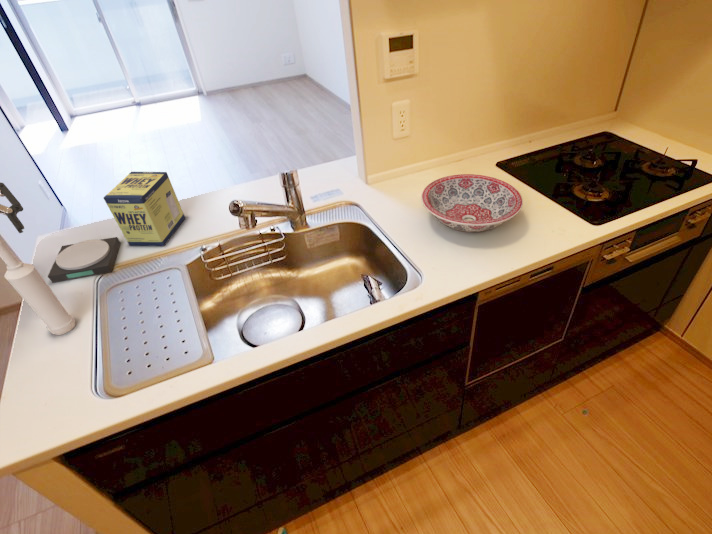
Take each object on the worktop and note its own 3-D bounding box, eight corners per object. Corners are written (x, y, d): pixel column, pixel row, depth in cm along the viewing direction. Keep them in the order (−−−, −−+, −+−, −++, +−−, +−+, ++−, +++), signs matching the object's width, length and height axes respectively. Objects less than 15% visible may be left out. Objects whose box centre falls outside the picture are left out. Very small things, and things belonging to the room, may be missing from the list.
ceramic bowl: (536, 238, 122) (542, 213, 116) (441, 257, 116) (443, 232, 110) (491, 190, 142) (494, 168, 137) (408, 205, 136) (408, 182, 131)
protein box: (128, 246, 121) (101, 197, 111) (153, 217, 133) (131, 170, 122) (164, 246, 121) (141, 197, 110) (186, 217, 132) (167, 170, 122)
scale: (52, 283, 110) (45, 274, 108) (66, 252, 120) (60, 243, 118) (111, 272, 113) (106, 263, 111) (120, 243, 123) (115, 234, 120)
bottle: (81, 320, 100) (14, 229, 83) (66, 336, 96) (-7, 245, 79) (61, 318, 100) (-10, 228, 83) (45, 334, 96) (-33, 243, 79)
